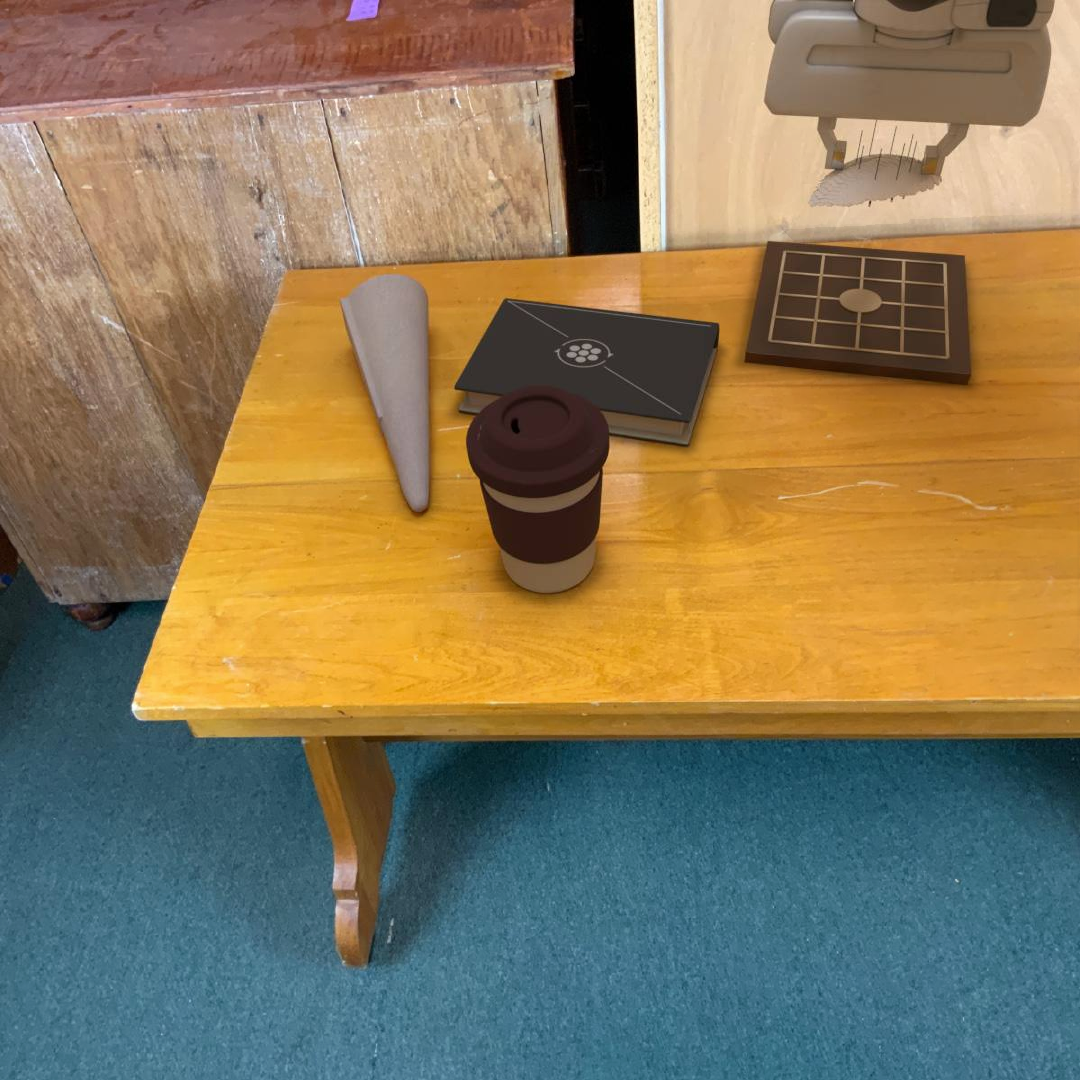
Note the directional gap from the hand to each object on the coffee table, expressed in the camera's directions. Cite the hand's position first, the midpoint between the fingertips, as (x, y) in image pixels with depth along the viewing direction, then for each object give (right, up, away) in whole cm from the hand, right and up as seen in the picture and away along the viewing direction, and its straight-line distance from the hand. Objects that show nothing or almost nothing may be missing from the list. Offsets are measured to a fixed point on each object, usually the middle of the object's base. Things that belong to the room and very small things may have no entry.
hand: (882, 169), depth 78 cm
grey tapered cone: (-39, -19, +11) cm, 45 cm away
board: (+4, -8, +17) cm, 19 cm away
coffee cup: (-27, -32, -2) cm, 42 cm away
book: (-23, -15, +13) cm, 31 cm away
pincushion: (0, -2, +2) cm, 3 cm away
